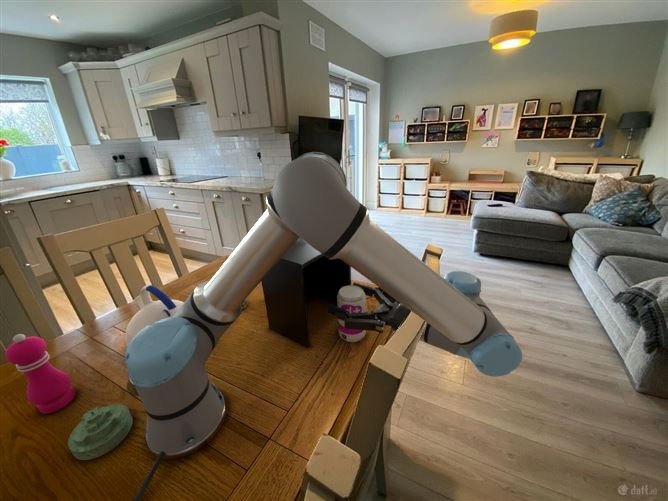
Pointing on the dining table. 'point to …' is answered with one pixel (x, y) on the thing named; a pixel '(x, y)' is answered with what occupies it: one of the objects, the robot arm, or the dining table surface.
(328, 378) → the dining table surface
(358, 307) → the supplement can
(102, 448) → the decorative artifact
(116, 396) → the dining table surface
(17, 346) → the pepper mill
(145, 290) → the kettle
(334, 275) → the box
